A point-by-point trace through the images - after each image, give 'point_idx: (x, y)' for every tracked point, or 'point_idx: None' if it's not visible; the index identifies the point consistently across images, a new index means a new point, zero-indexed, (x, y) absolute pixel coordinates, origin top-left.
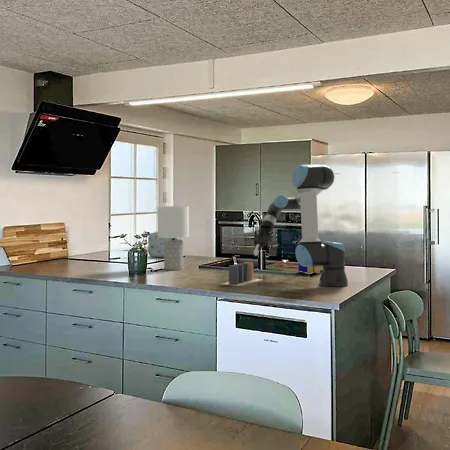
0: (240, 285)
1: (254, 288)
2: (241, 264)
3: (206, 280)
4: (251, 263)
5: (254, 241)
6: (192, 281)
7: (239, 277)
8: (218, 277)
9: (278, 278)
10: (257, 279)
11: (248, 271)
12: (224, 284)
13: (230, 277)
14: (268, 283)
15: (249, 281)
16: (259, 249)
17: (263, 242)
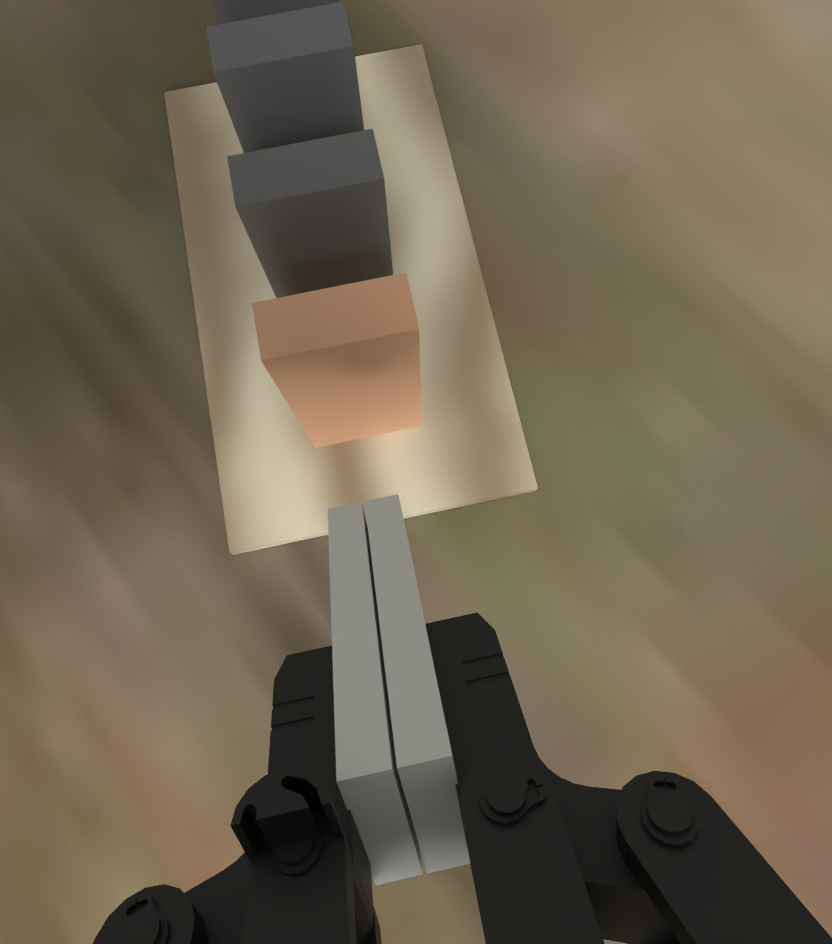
0: (198, 106)
1: (32, 129)
2: (250, 61)
3: (742, 152)
4: (258, 308)
5: (704, 870)
6: (790, 31)
7: None
8: (827, 377)
9: (181, 845)
10: (296, 505)
11: (265, 272)
12: (364, 55)
13: None
14: (73, 434)
15: None
16: (297, 668)
17: (148, 940)
